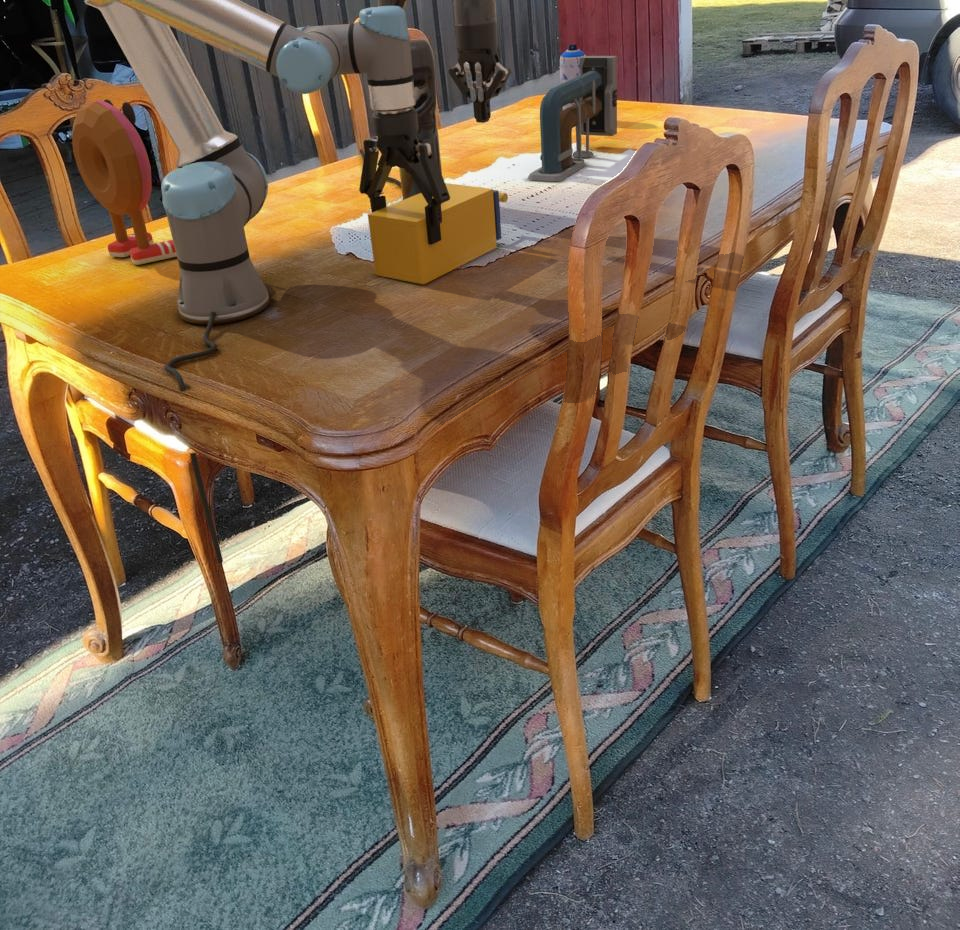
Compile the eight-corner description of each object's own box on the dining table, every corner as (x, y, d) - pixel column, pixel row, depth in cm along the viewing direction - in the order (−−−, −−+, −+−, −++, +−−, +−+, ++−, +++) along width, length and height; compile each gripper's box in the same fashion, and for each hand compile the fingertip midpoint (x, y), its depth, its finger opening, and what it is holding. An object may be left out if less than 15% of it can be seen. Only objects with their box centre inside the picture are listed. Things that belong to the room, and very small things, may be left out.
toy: (194, 256, 192) (157, 98, 177) (148, 271, 186) (106, 109, 171) (139, 239, 206) (100, 90, 190) (95, 253, 199) (51, 100, 184)
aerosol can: (559, 122, 275) (557, 47, 265) (562, 117, 282) (559, 42, 272) (587, 121, 274) (585, 45, 263) (589, 115, 280) (587, 41, 270)
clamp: (559, 181, 220) (556, 82, 210) (525, 179, 224) (520, 82, 214) (617, 145, 246) (616, 55, 235) (585, 144, 250) (583, 55, 239)
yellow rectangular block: (450, 240, 190) (445, 182, 184) (496, 247, 184) (493, 188, 178) (375, 275, 175) (367, 214, 170) (423, 284, 169) (416, 221, 164)
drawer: (478, 223, 195) (475, 177, 190) (520, 229, 189) (517, 182, 185) (391, 263, 177) (384, 214, 172) (433, 272, 172) (428, 221, 167)
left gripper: (464, 108, 156) (474, 240, 167) (357, 101, 169) (373, 223, 180) (435, 118, 151) (447, 253, 162) (327, 110, 164) (345, 235, 175)
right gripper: (518, 17, 170) (523, 119, 179) (459, 17, 177) (466, 115, 186) (493, 23, 165) (499, 128, 174) (433, 23, 172) (442, 124, 181)
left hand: (408, 237), depth 171 cm, fingers closed on yellow rectangular block, 11 cm apart
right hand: (482, 121), depth 180 cm, fingers closed
